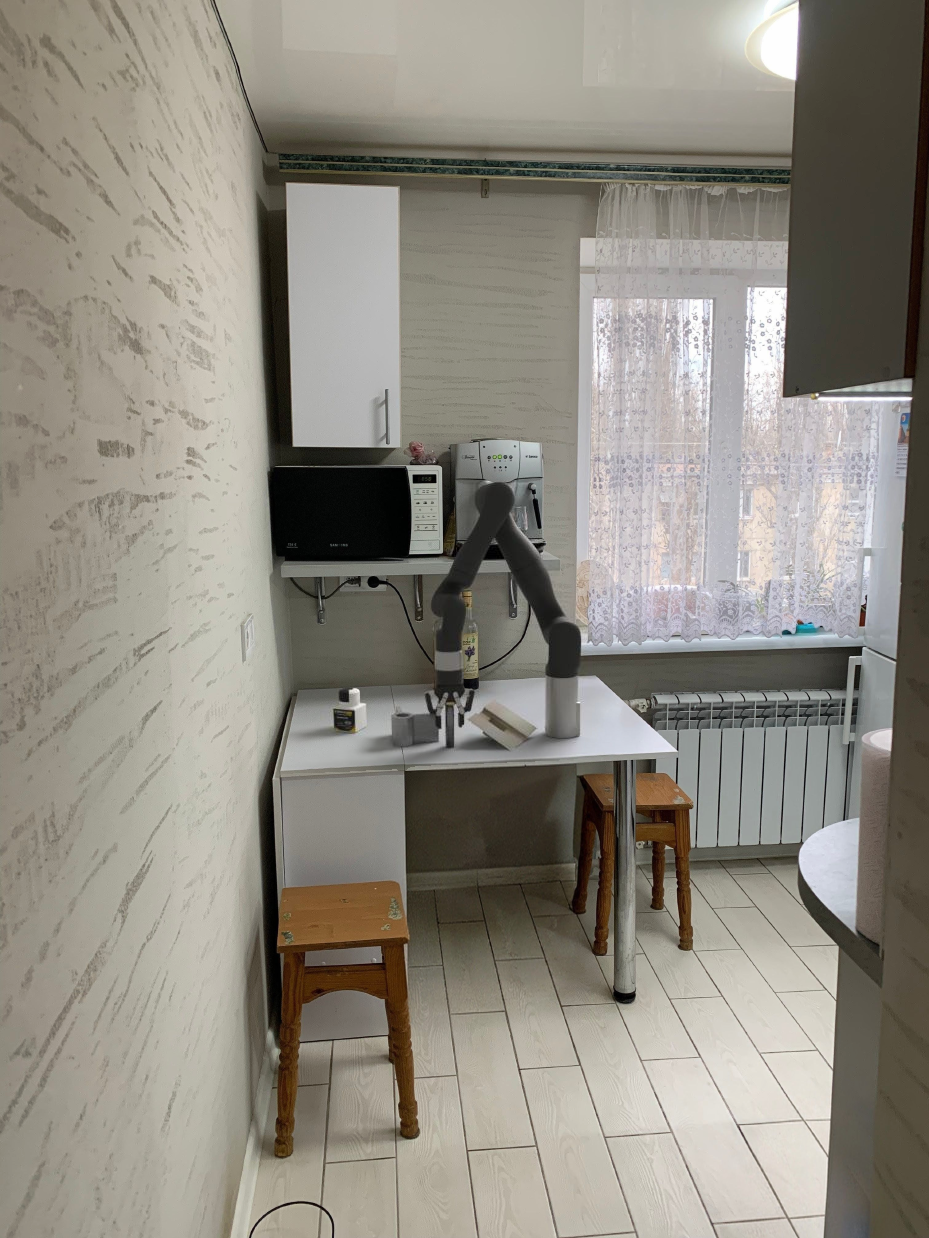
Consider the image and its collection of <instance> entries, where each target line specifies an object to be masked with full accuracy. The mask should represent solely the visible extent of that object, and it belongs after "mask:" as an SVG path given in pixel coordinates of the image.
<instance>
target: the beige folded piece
mask: <svg viewBox="0 0 929 1238" xmlns="http://www.w3.org/2000/svg"><path fill="white" fill-rule="evenodd" d="M466 720H467V721H469V722H470V723H471V724H473V725H475V726H476V727H477V728H479V729H480V730H481V731H482V735H484V736H485V737H487V738H488V739H490V740H491V741H493V740H495V741H496V742H498V743H499V744H501V746H503V747H505V748H507V750H509V751H513V750H515V749H517V748H518V747H519V746H520V745H521V744H523V742H524V741H526V740H527V739H528V738H529V737H530V736H531V735H532V734H533V733H534V732H535V731H536V730H537V729H538V728H537V726H535V725H534V724H533V723H531V722H529V721H528V720H526V719H525V718H523V717H521V716H520V715H519V714H517V713H516V712H514V711H513V710H510V709H509V708H508V707H507V706H505V705H503V704H501V703H500V702H499V701H497V700H496V699H493V700H491V701H490V702H489V703H488V704H487V705H485V706H484V707H483V709H482V710H481V711H480V712H479V713H478V712H475V713H473V715H471V716H470V717H468V718H467V719H466Z"/></svg>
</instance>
